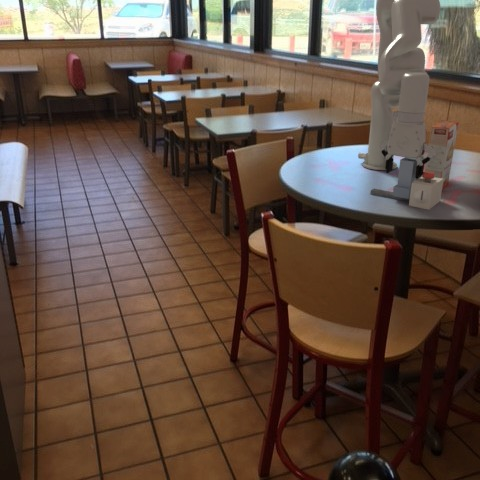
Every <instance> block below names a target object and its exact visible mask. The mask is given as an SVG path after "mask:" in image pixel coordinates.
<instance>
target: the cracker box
mask: <svg viewBox="0 0 480 480" xmlns="http://www.w3.org/2000/svg"><path fill="white" fill-rule="evenodd" d="M459 123H460V122H459V121H455V120H443V119H442V120H440V121H438V122H437V123H435V124H433V125H432V126H431V127H430V128H431V129H430V136H429V143H428V146H429V147H430V148H431V149H433V150H434V151H435V152H436V154H435V155H434V156H433V157H432V159H431V160H430V161H428V162H427V163H426V164H425V166H424V172H426V171H428V172H434V173H435V177H436V178H442V179H444V180H443V186H442V190H443V189H444V188H445V187H446V186H447V185H448V183H449V182H450V181H449V180H450V173H451V169H452V163H453V157H454V151H455V146H456V138H457V134H458V129H459ZM427 156H428V153H427ZM427 156H426V157H427Z"/></svg>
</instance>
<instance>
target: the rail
mask: <svg viewBox="0 0 480 480" xmlns="http://www.w3.org/2000/svg"><path fill="white" fill-rule="evenodd" d="M369 192H370V195H372V196H379V197H384V198H388V199H389V198H390V199H394V200H400V201H403V202H409V200H410V198H409V199H406V198H401V197H396V196H393V191H389V190H383V189H377V188H372V189H370V191H369Z"/></svg>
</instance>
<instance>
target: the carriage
mask: <svg viewBox="0 0 480 480" xmlns="http://www.w3.org/2000/svg"><path fill="white" fill-rule="evenodd" d="M417 165H418V162H417V160H416V159H413V158H406V157H402V158H401V159H399V168H398V176H397V184H396V185H394V186H393V190H392V192H393V196H396V197H401V198H406V199H409V198H410V192H411V185H412V182H414V181H416V180H417V179H416V178H415V174H416V167H417Z"/></svg>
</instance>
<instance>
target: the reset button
mask: <svg viewBox="0 0 480 480" xmlns="http://www.w3.org/2000/svg"><path fill="white" fill-rule="evenodd" d="M421 177H423V178H425V182H426V183H431V179H433V178H435V173H434V172H428V171H426V172H425V171H423V175H422V176H421Z"/></svg>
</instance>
